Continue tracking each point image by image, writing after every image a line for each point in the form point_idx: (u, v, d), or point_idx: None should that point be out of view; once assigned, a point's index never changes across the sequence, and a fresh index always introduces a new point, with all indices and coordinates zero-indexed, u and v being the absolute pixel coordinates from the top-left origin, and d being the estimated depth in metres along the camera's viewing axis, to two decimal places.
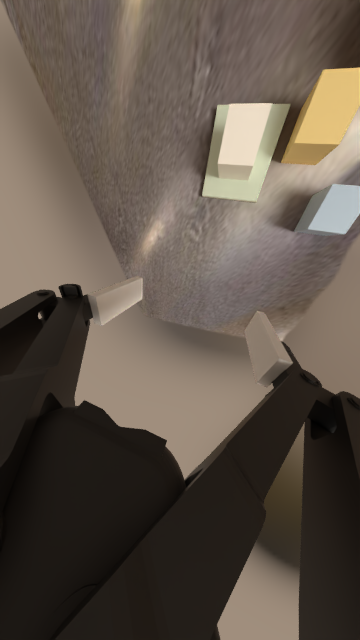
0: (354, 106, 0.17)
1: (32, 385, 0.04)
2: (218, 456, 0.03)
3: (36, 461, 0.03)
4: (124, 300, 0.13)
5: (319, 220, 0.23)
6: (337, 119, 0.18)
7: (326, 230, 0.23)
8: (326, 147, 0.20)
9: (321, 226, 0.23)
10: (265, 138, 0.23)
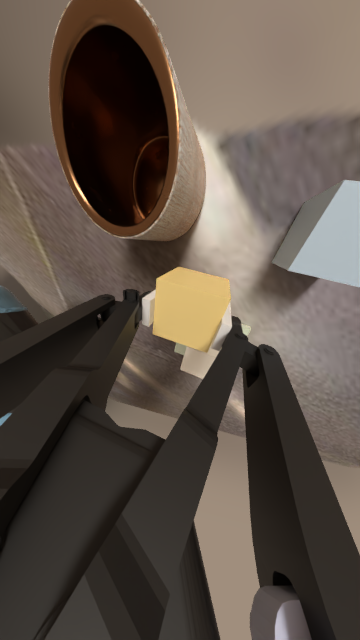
0: (188, 294, 0.10)
1: (74, 386, 0.04)
2: (179, 418, 0.04)
3: (49, 478, 0.03)
4: None
5: (355, 271, 0.11)
6: (196, 311, 0.11)
7: None
8: None
9: None
10: None
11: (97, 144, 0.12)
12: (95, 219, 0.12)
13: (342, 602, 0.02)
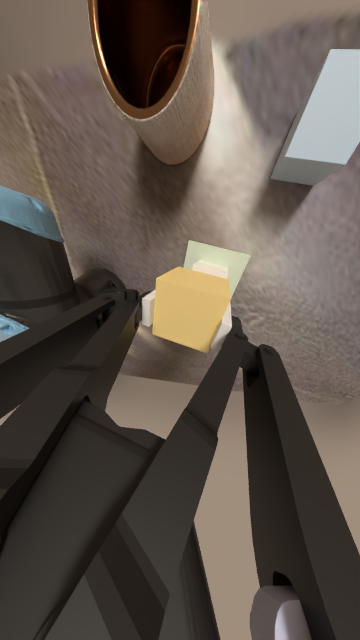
0: (187, 294, 0.10)
1: (74, 386, 0.04)
2: (179, 418, 0.04)
3: (49, 478, 0.03)
4: None
5: (339, 147, 0.13)
6: (196, 311, 0.11)
7: None
8: None
9: (355, 134, 0.12)
10: (203, 256, 0.26)
11: (121, 33, 0.13)
12: (119, 102, 0.13)
13: (341, 601, 0.02)
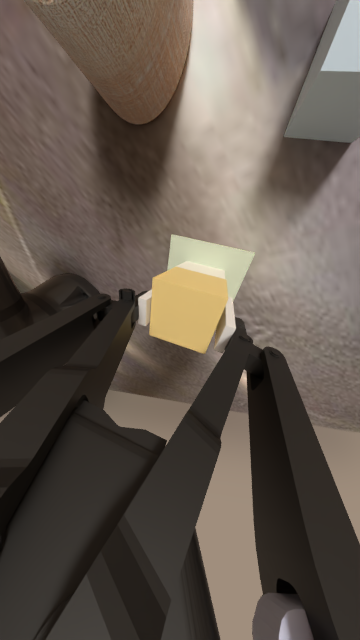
0: (184, 293, 0.10)
1: (71, 385, 0.04)
2: (182, 420, 0.04)
3: (49, 476, 0.03)
4: None
5: None
6: (193, 311, 0.11)
7: None
8: None
9: None
10: (191, 256, 0.19)
11: None
12: None
13: (349, 613, 0.02)
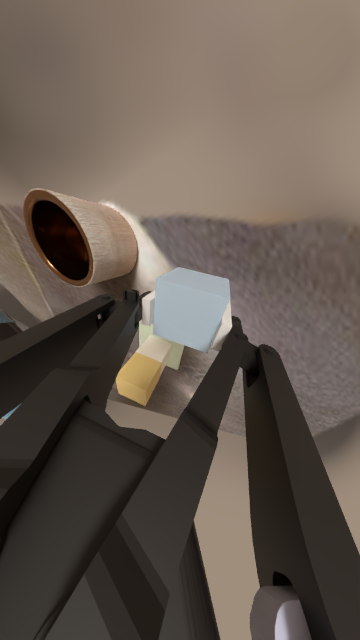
0: (129, 384, 0.22)
1: (74, 386, 0.04)
2: (179, 418, 0.04)
3: (49, 478, 0.03)
4: None
5: (196, 341, 0.12)
6: (134, 390, 0.22)
7: (215, 329, 0.11)
8: (148, 389, 0.22)
9: (206, 337, 0.12)
10: (152, 333, 0.31)
11: (57, 229, 0.19)
12: (57, 275, 0.19)
13: (341, 601, 0.02)
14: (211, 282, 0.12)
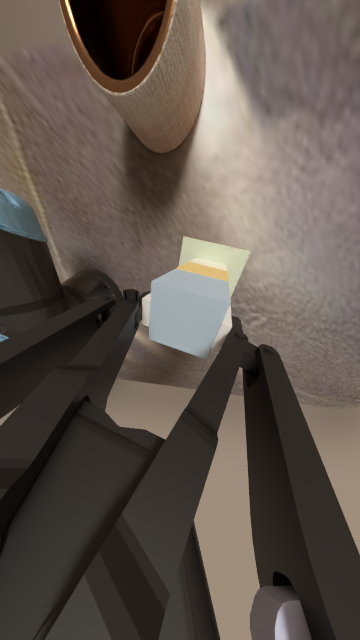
0: None
1: (74, 386, 0.04)
2: (179, 418, 0.04)
3: (49, 477, 0.03)
4: None
5: (194, 346, 0.12)
6: None
7: (214, 335, 0.10)
8: None
9: (205, 343, 0.11)
10: (199, 254, 0.24)
11: None
12: (94, 73, 0.12)
13: (341, 601, 0.02)
14: (210, 285, 0.11)
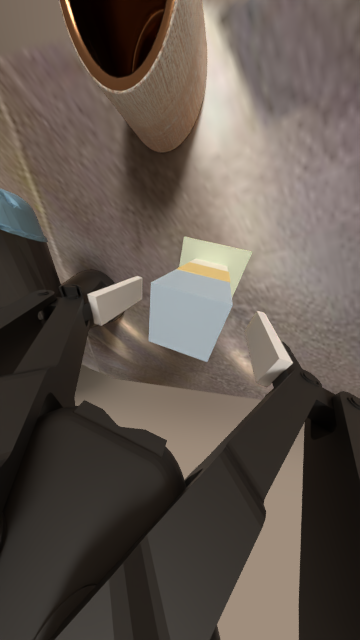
0: None
1: (32, 385, 0.04)
2: (218, 456, 0.03)
3: (36, 461, 0.03)
4: (124, 300, 0.13)
5: (195, 349, 0.11)
6: None
7: (215, 337, 0.10)
8: None
9: (206, 345, 0.11)
10: (200, 254, 0.24)
11: None
12: (94, 71, 0.11)
13: None
14: (211, 286, 0.11)
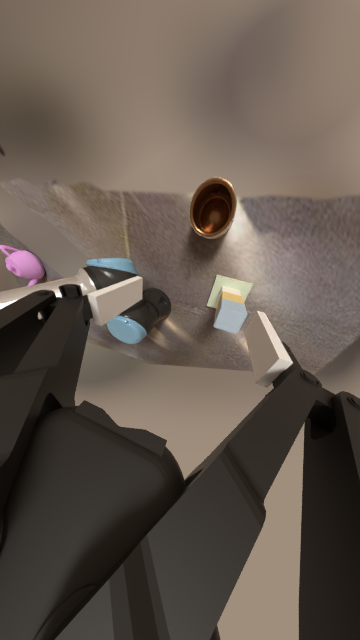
0: None
1: (32, 385, 0.04)
2: (218, 456, 0.03)
3: (36, 461, 0.03)
4: (124, 300, 0.13)
5: (232, 329, 0.32)
6: None
7: (241, 324, 0.31)
8: None
9: (237, 327, 0.31)
10: (224, 284, 0.44)
11: (198, 203, 0.32)
12: (197, 230, 0.32)
13: None
14: (238, 306, 0.32)
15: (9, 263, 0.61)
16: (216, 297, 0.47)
